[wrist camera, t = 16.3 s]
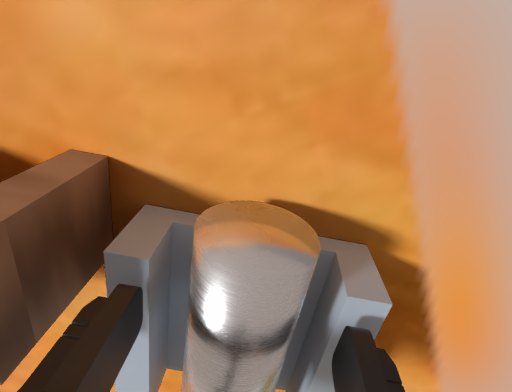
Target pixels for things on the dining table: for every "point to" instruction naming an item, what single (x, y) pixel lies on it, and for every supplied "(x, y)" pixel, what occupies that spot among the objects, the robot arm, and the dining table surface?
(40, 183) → the beam
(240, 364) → the axle
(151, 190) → the dining table surface
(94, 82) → the dining table surface
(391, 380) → the robot arm
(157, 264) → the cradle
